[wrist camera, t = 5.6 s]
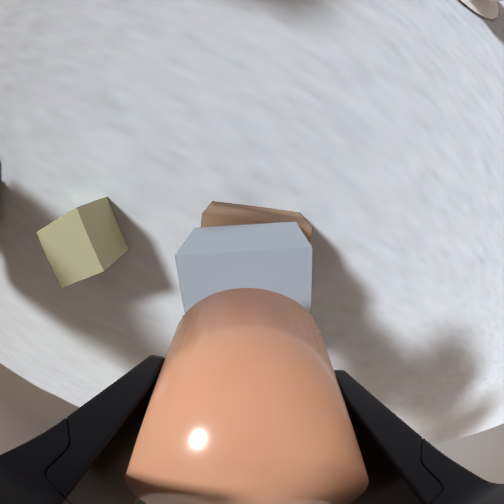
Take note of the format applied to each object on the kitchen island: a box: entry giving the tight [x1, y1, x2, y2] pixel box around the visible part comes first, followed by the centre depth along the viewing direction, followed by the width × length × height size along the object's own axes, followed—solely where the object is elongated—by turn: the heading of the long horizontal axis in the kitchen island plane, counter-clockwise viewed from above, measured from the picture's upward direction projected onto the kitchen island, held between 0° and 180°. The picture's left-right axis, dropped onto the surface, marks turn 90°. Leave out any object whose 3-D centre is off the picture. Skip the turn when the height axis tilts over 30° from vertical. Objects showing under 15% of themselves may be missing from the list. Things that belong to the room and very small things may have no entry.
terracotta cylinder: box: [125, 288, 369, 504], centre depth 6 cm, size 5×5×5 cm
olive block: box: [37, 197, 129, 288], centre depth 16 cm, size 4×4×4 cm
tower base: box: [201, 201, 312, 243], centre depth 17 cm, size 6×6×4 cm
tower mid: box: [175, 222, 312, 314], centre depth 13 cm, size 5×5×4 cm
